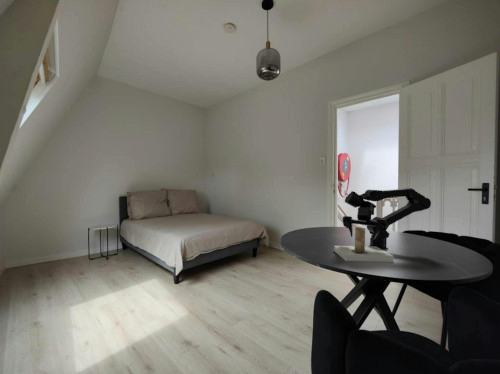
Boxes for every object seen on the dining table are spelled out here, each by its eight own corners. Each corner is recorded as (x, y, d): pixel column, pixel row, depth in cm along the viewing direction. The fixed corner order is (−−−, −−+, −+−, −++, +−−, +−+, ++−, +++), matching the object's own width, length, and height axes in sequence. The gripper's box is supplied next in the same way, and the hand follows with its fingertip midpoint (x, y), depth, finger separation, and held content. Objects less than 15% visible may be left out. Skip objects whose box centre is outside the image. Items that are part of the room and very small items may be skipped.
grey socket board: (375, 251, 111) (376, 246, 111) (393, 261, 97) (393, 255, 97) (334, 250, 111) (334, 245, 111) (345, 261, 97) (345, 255, 97)
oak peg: (361, 255, 104) (362, 227, 104) (366, 258, 100) (366, 229, 100) (352, 255, 104) (353, 227, 104) (356, 258, 100) (357, 229, 100)
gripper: (343, 199, 115) (338, 225, 106) (387, 202, 105) (385, 230, 96) (345, 213, 122) (341, 238, 113) (386, 217, 112) (385, 244, 103)
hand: (362, 237), depth 106 cm, fingers open, 9 cm apart
